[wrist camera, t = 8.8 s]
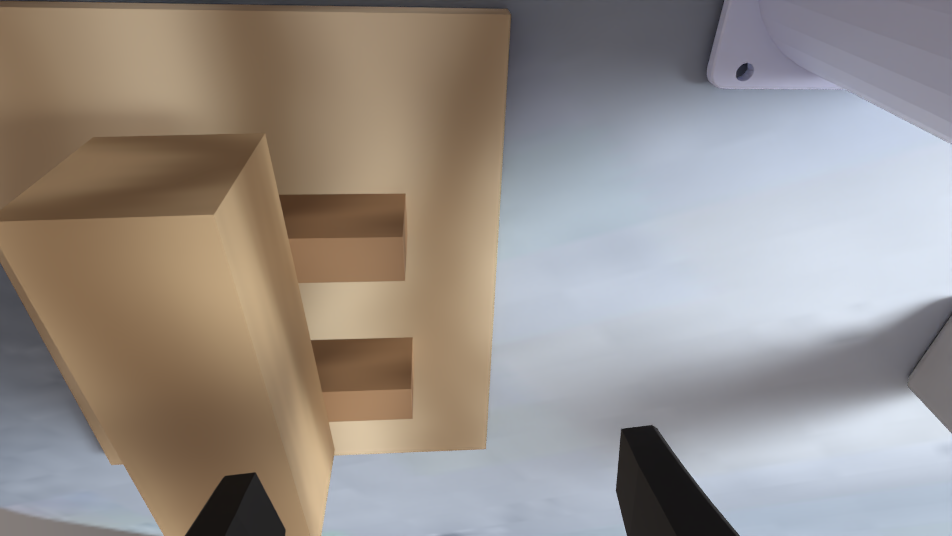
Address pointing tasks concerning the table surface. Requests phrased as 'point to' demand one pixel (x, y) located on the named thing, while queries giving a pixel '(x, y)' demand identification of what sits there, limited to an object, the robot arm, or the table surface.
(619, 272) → the table surface
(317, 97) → the rail stand
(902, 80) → the robot arm
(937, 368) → the vintage mobile phone
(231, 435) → the oak beam
